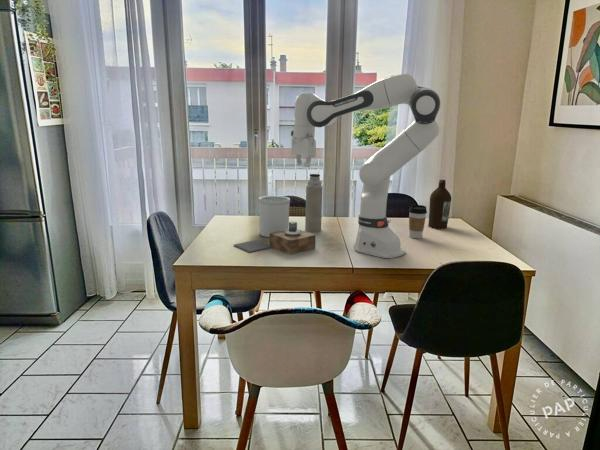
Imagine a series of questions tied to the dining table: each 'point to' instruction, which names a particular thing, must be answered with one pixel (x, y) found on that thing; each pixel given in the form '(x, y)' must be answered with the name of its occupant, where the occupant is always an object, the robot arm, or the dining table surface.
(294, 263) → the dining table surface
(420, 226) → the coffee cup
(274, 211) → the utensil holder
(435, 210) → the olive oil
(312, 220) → the thermos bottle
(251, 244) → the mat
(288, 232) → the end cover
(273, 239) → the socket block
